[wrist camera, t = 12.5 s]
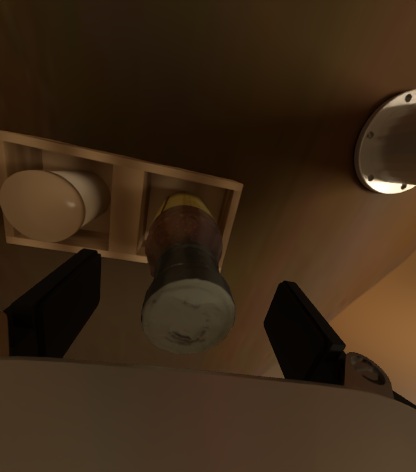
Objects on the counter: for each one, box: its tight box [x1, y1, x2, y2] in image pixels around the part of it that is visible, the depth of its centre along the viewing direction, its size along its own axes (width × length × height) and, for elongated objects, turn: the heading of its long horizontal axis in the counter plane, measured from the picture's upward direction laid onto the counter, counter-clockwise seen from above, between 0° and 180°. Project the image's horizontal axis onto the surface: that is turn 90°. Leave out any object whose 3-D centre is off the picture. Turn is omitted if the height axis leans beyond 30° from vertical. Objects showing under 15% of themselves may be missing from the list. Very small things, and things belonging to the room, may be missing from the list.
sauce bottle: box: [141, 192, 235, 354], centre depth 17 cm, size 7×6×20 cm
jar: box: [0, 170, 111, 242], centre depth 21 cm, size 6×6×8 cm
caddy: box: [0, 130, 244, 272], centre depth 24 cm, size 24×11×6 cm, turn 78°
